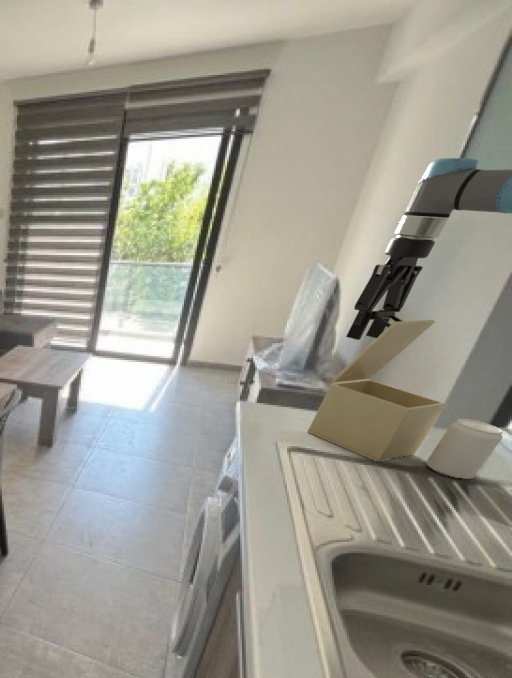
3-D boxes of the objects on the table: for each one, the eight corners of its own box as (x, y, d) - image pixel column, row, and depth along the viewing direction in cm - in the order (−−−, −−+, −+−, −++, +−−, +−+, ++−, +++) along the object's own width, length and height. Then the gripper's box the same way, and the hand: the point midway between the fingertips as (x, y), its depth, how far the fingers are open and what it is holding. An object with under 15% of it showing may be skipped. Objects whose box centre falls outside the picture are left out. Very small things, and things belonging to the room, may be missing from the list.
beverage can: (475, 475, 111) (509, 429, 105) (467, 484, 107) (502, 437, 101) (429, 459, 117) (458, 415, 111) (420, 468, 112) (450, 422, 107)
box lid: (435, 321, 112) (405, 302, 117) (397, 323, 108) (367, 304, 112) (370, 378, 125) (345, 359, 130) (333, 382, 120) (309, 362, 125)
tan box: (414, 454, 119) (447, 403, 112) (377, 462, 114) (409, 409, 107) (342, 426, 132) (368, 379, 126) (307, 431, 128) (331, 383, 121)
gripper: (420, 237, 115) (371, 331, 126) (368, 235, 109) (320, 335, 120) (460, 240, 109) (404, 340, 120) (407, 238, 102) (353, 343, 113)
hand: (362, 337), depth 120 cm, fingers closed on box lid, 7 cm apart
